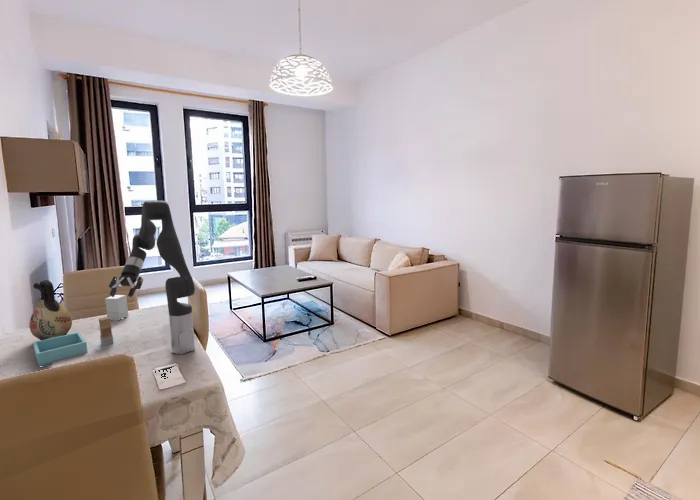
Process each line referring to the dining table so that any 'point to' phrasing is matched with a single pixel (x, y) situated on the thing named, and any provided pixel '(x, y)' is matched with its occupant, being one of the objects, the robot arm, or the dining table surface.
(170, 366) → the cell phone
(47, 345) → the teal bin
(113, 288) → the robot arm
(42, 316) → the ceramic jug
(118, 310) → the supplement box
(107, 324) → the walnut strut
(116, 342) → the stud plate
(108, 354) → the dining table surface
